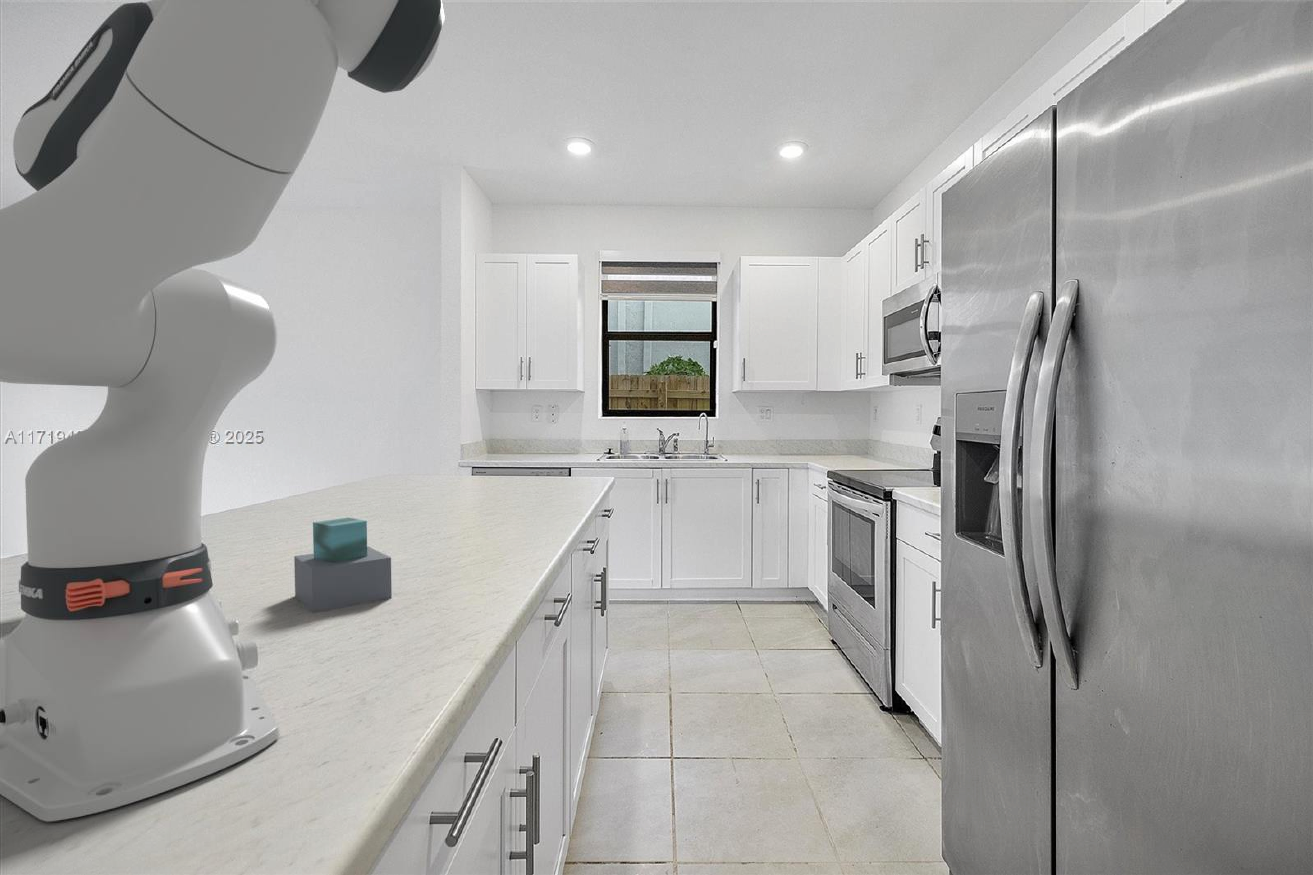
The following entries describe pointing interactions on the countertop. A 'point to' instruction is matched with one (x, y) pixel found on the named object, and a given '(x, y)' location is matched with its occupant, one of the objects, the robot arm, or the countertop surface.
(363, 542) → the teal block
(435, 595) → the countertop surface
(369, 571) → the charcoal block
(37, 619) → the robot arm
